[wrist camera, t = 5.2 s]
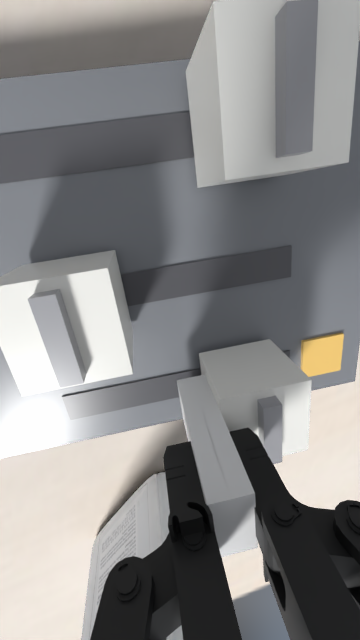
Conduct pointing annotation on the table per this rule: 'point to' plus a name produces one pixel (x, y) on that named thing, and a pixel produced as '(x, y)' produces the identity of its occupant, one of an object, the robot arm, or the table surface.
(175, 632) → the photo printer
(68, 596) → the table surface
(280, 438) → the slider
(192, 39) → the table surface
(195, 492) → the robot arm
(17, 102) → the console
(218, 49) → the slider
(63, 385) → the slider mid
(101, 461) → the table surface
